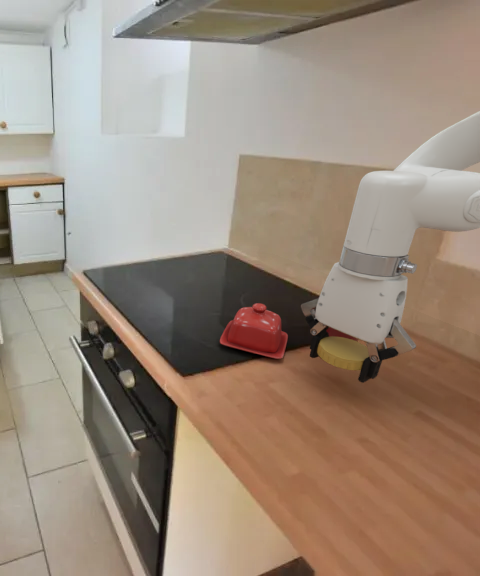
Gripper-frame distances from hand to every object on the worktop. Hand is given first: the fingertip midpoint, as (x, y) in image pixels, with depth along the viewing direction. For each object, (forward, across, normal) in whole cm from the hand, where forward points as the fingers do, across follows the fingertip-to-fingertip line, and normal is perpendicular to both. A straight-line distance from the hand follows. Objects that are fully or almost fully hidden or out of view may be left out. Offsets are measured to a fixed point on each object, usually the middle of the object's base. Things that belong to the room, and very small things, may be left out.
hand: (339, 366), depth 61 cm
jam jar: (+4, +6, -10) cm, 12 cm away
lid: (-3, 0, 0) cm, 3 cm away
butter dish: (+4, +16, 0) cm, 17 cm away
